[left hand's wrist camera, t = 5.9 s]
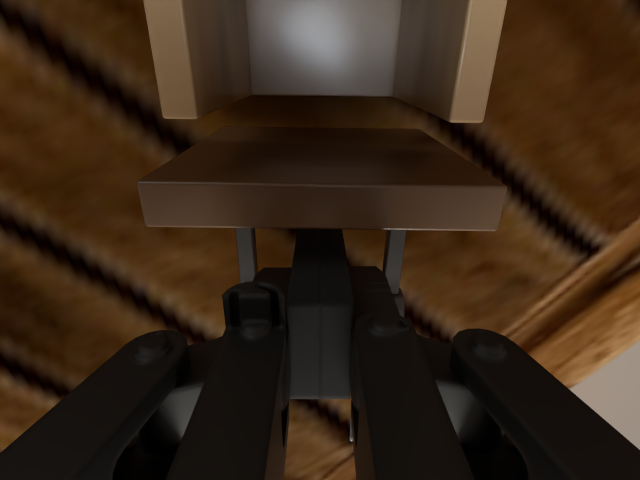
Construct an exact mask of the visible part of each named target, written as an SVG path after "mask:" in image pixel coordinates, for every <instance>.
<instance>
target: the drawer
mask: <svg viewBox="0 0 640 480" xmlns="http://www.w3.org/2000/svg"><path fill="white" fill-rule="evenodd" d="M506 4H507V0H144V6H145V12H146V18H147V24H148V31H149V37H150V43H151V49H152V55H153V61H154V67H155V73H156V79H157V85H158V91H159V97H160V103H161V109H162V115H163V118H166V119H197V118H199V117H201V116H204V115H206V114H208V113H211V112H213V111H215V110H218V109H220V108H222V107H224V106H227V105H229V104H231V103H234V102H236V101H238V100H241V99H243V98H245V97H248V96H250V95H266V96H337V97H395V98H397V99H399V100H402V101H404V102H406V103H408V104H411V105H413V106H415V107H417V108H420V109H422V110H424V111H426V112H429V113H431V114H433V115H435V116H438V117H440V118H442V119H445V120H447V121H449V122H451V123H481V122H483V120H484V115H485V110H486V105H487V100H488V95H489V90H490V85H491V80H492V74H493V69H494V64H495V59H496V54H497V49H498V44H499V39H500V34H501V29H502V24H503V19H504V14H505V9H506ZM137 187H138V192H139V197H140V202H141V206H142V211H143V216H144V221H145V225H146V226H148V227H216V228H235V231H236V241H237V252H238V262H239V273H240V283H244V282H250V281H253V279H254V276H255V275H256V274H257V273H258V266H257V252H256V238H255V228H296V229H375V230H387V231H386V241H385V251H384V261H383V271H382V272H383V273H385V275H386V277H387V280H388V284H389V286H390V288H391V292H392V294H393V297H394V299H395V302H396V305H397V308H398V310H399V313H400V315H401V316H402V317H404V299H403V294H402V291H401V289H400V288H399V284H400V276H401V269H402V261H403V253H404V245H405V237H406V230H454V231H496V230H497V229H498V225H499V221H500V217H501V213H502V209H503V204H504V200H505V196H506V192H507V186H506V185H504V184H503V183H501V182H499V181H498V180H496V179H495V178H493V177H492V176H490V175H489V174H487V173H486V172H484V171H483V170H481V169H480V168H478V167H476V166H475V165H473V164H472V163H470V162H469V161H467V160H466V159H464V158H463V157H461V156H460V155H458V154H457V153H455V152H454V151H452V150H450V149H449V148H447V147H446V146H444V145H443V144H441V143H440V142H438V141H437V140H435V139H434V138H432V137H431V136H429V135H428V134H426V133H424V132H423V131H421V130H420V129H367V128H294V127H222V128H221V129H219V130H217V131H216V132H214V133H213V134H211V135H210V136H208V137H206V138H205V139H203V140H202V141H200V142H199V143H197V144H195V145H194V146H192V147H191V148H189V149H188V150H186V151H184V152H183V153H181V154H180V155H178V156H177V157H175V158H173V159H172V160H170V161H169V162H167V163H166V164H164V165H162V166H161V167H159V168H158V169H156V170H155V171H153V172H151V173H150V174H148V175H147V176H145V177H144V178H142V179H140V180H139V181H137Z"/></svg>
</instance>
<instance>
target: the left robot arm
mask: <svg viewBox="0 0 640 480" xmlns="http://www.w3.org/2000/svg"><path fill="white" fill-rule="evenodd" d="M222 298H223V306H224V315H225V324H226V329H225V332H224V334H223V336H222V337H219V338H217V339H215V340H211V341H207V342H203V343H198V344H193V345H189V346H188V344H187V339H186V338H185V337H184V336H183V335H182V334H181V333H178V332H175V331H169V330H160V331H155V332H150V333H147V334H144V335H142V336H139V337H137V338H135V339H133V340H132V341H130V342H129V343H127V344H126V345H125V346H123V347H122V348H121V349H120V350H119V351H118V352H117V353H115V354H114V355H113V356H112V357H111V358H110V359H108V360H107V361H106V362H105V363H104V364H103V365H102V366H100V367H99V368H98V369H97V370H96V371H95V372H93V373H92V374H91V375H90V376H89V377H88V378H86V379H85V380H84V381H83V382H82V383H81V384H80V385H78V386H77V387H76V388H75V389H74V390H73V391H71V392H70V393H69V394H68V395H67V396H66V397H65V398H63V399H62V400H61V401H60V402H59V403H58V404H56V405H55V406H54V407H53V408H52V409H51V410H50V411H48V412H47V413H46V414H45V415H44V416H43V417H41V418H40V419H39V420H38V421H37V422H36V423H34V424H33V425H32V426H31V427H30V428H29V429H28V430H26V431H25V432H24V433H23V434H22V435H21V436H19V437H18V438H17V439H16V440H15V441H14V442H13V443H11V444H10V445H9V446H8V447H7V448H6V449H4V450H3V451H2V452H1V453H0V480H284V469H285V458H286V447H287V437H288V426H289V392H290V399H350V390H351V422H350V441H353V447H354V458H355V469H356V479H357V480H640V450H639V449H638V448H637V447H636V446H634V445H633V444H632V443H631V442H630V441H629V440H627V439H626V438H625V437H624V436H623V435H622V434H620V433H619V432H618V431H617V430H616V429H615V428H613V427H612V426H611V425H610V424H609V423H608V422H606V421H605V420H604V419H603V418H602V417H600V416H599V415H598V414H597V413H596V412H595V411H594V410H592V409H591V408H590V407H589V406H588V405H587V404H585V403H584V402H583V401H582V400H581V399H580V398H578V397H577V396H576V395H575V394H574V393H573V392H571V391H570V390H569V389H568V388H567V387H566V386H564V385H563V384H562V383H561V382H560V381H559V380H557V379H556V378H555V377H554V376H553V375H552V374H550V373H549V372H548V371H547V370H546V369H545V368H543V367H542V366H541V365H540V364H539V363H538V362H537V361H535V360H534V359H533V358H532V357H531V356H530V355H528V354H527V353H526V352H525V351H524V350H523V349H521V348H520V347H519V346H518V345H517V344H516V343H514V342H513V341H511V340H510V339H508V338H507V337H505V336H503V335H501V334H498V333H496V332H493V331H490V330H485V329H466V330H463V331H460V332H458V333H457V334H456V335H455V336H454V338H453V344H450V343H445V342H440V341H435V340H431V339H428V338H424V337H422V336H420V335H417V334H416V331H415V329H414V327H413V325H412V324H411V323H410V321H409V320H407V319H405V318H404V317H402V316H401V315H400V313H399V310H398V308H397V305H396V302H395V299H394V297H393V294H392V292H391V288H390V286H389V284H388V280H387V277H386V275H385V273H383V272H382V271H381V270H380V269H378V268H377V267H376V266H348V264H347V257H346V251H345V245H344V239H343V233H342V229H298V233H297V239H296V245H295V251H294V257H293V264H292V268H263V269H262V270H261V271H259V272H258V273H257V274H256V275H255V276H254V279H253V281H250V282H244V283H241V284H237V285H235V286H233V287H231V288H229V289H228V290H227V291H226V292H225V293H224V294H223V295H222Z"/></svg>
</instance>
